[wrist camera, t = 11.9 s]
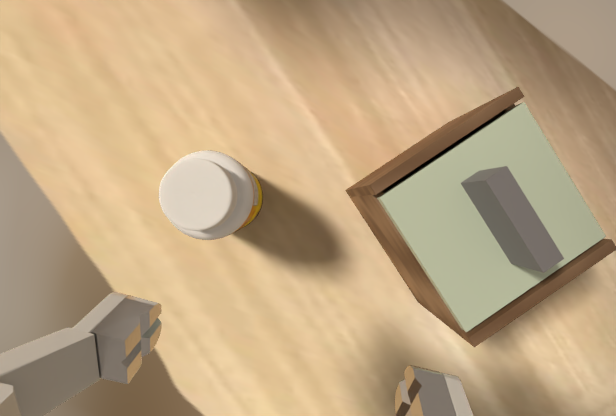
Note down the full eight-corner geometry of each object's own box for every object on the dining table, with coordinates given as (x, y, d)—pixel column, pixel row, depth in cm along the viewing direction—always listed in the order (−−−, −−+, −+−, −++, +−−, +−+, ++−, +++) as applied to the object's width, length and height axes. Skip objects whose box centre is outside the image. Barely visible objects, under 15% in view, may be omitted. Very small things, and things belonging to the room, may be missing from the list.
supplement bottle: (204, 233, 27) (150, 253, 17) (194, 169, 27) (133, 149, 16) (268, 224, 27) (254, 238, 17) (259, 160, 27) (239, 135, 17)
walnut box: (345, 190, 27) (369, 184, 19) (448, 122, 28) (518, 86, 19) (418, 302, 28) (474, 347, 19) (518, 234, 28) (617, 248, 20)
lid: (376, 197, 19) (392, 197, 16) (517, 105, 20) (558, 86, 17) (461, 328, 20) (492, 351, 17) (596, 235, 20) (651, 241, 17)
